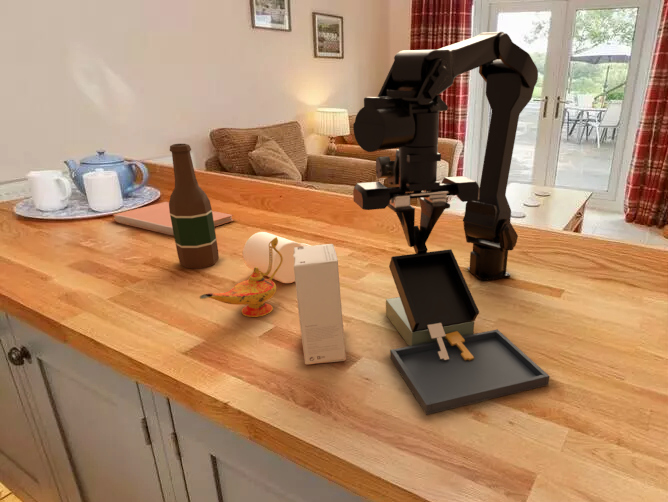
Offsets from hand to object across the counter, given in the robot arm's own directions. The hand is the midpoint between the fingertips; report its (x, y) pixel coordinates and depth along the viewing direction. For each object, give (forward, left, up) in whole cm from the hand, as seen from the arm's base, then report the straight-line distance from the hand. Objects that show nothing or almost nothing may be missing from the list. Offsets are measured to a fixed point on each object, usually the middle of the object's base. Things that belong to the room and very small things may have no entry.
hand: (416, 245), depth 78 cm
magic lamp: (+26, -9, -12) cm, 30 cm away
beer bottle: (+34, -37, -12) cm, 51 cm away
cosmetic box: (+17, +6, -12) cm, 22 cm away
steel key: (+2, +14, -10) cm, 17 cm away
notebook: (+41, -71, -12) cm, 83 cm away
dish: (0, +4, -4) cm, 6 cm away
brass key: (-1, +14, -11) cm, 18 cm away
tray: (0, +19, -12) cm, 22 cm away
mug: (+18, -25, -12) cm, 33 cm away
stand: (0, +5, -12) cm, 13 cm away
